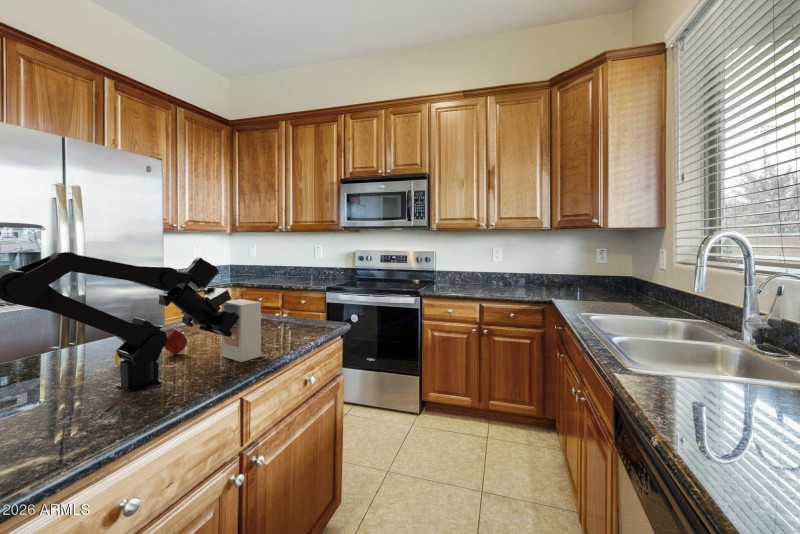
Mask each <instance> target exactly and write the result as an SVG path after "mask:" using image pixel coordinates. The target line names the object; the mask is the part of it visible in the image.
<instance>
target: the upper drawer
mask: <svg viewBox="0 0 800 534" xmlns="http://www.w3.org/2000/svg"><path fill="white" fill-rule="evenodd" d="M226 310H228V311H234V312H236V313H237V314H238V307H237V306H232V305H224V311H226ZM234 325H238V320H237V322H236V323H235V324H234Z"/></svg>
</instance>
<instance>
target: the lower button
mask: <svg viewBox="0 0 800 534" xmlns="http://www.w3.org/2000/svg"><path fill="white" fill-rule="evenodd" d="M230 332H231V336H230V337H227V336H225V343H229V344H232V345H236V346H239V341H238V327H234V326H233V327H232V328H231V329H230Z"/></svg>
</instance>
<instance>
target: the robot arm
mask: <svg viewBox="0 0 800 534" xmlns="http://www.w3.org/2000/svg"><path fill="white" fill-rule="evenodd" d="M71 272H72V273H77V274H84V275H85V274H86V275H91V276H98V277H103V278H111V279H116V280H122V281H129V282H132V283H134V284H136V285H138V286H139V285H140V286H143V287H145V288H148V289H153V290H158V291H163V292H165V293H163V294H159V295H158V297H159V300H158V305H160V306H164V307H169V305H170V304H172V305H174V306H175V307H176V308H177V309H179V310H180V312H181V314H182V315H183V316H182V317H181V318H182V319H181V322H182V323H183V324H184V325H186V326H187V327H191V328H192V327H193V326H194V324H195V325H199V327H198V328H199V330H201V331H205V332H207V333H208V332H209V333H212V334H216V335H220V336H222V335H223V336H227V337H230V336H231V332H230V329H231V328H232V327H233V325H234V324H235V323H236V322H237V320H238V319H239V315H238V314H237V313H236V312H234V311H228V310H226V311H223V312H222V311H220V310H222V307H220V306H222V304H224V303H225V302H227V301H231V300H232V298H233V297H232V296H231V294H230V292H229V289H227V288H224V287H218V288H217V287H216V288H213V287H210V286H209V285H210V284H211V282H212V281H213V280H214V279H215V278H216V277H217V276H218V274H219V273H220V270H219V269H218V268H217V267H216V265H214V264H212V263H210V262H208V261H206V260H204V259H203V258H202V257H195V258H194V259H193V260H192V262H191V264H190V265H188V267H187V268H185V269H184V270H183V271H181V270H177V269H175V268H173V267H169V266H160V265H138V264H137V265H135V264H127V263H123V262H118V261H113V260H106V259H101V258H96V257H91V256H86V255H80V254H77V253H74V252H71V251H60V250H59V251H55V252H53V253H51V254H50V255H48V256H45V257H44V258H41V259H38V260H36V261H33V262H30V263H28V264H25V265H22V266H20V267H18V268H16V269H3V270H0V301H3V302H6V303H9V304H13V305H19V306H22V307H23V306H24V307H28V308H33V309H39V310H43V311H48V312H52V313H54V314H57V315H60V316H62V317H65V318H66V319H67V318H68V319H71V320H72V321H75V322H78V323H80V324H83V325H85V326H89V327H91V328H94V329H97V330H100V331H102V332H105V333H107V334H110V335H113V336H114V337H116V338H117V339H119V340H120V341H121V342H122V344H121V345H120V346H119V347H118V348H117V349H116V352H117V354H118V356H119V359H123V360H122V361H121V360H120V366H119V368H120V369H119V371H120V372H119V373H120V382H119V383H117V384H116V387H117V388H120V389H122V390H126V391H128V392H132V393H133V392H137V391H139V390H143V389H146V388H149V387H152V386H154V385H158V384H161V383H162V380H161V379H159V377H160V375H159V374H160V371H159V369H160V367H159V365H160V364H159V362H158V360H159V359H160V356H161V352H162V350H163V349H165V345H166V342H167V336H168V334H167V333H166V331H164V330H162V329H163V326H161V325H157V324H155V323H154V324H153V323H151V322H149V321H148V320H146V319H142V318H141V317H140V318H139V317H135V316H134V317H133V318H132V321H127V320H124V319H122V318H119V317H118V316H114V315H112V314H110V313H107V312H104V311H103V310H100V309H98V308H95V307H93V306H91V305H88V304H85V303H83V302H81V301H79V300H77V299H73V298H71V297H69V296H66V295H65V294H64V295H63V294H62V293H60V292H59V291H58V290H56V289H54V287H52V286H51V284H53V283H54V282H56V281H57V280H59V279H61V278H62V277H64V276H65V275H67V274H69V273H71ZM200 289H203V295H201V294H200V293H198V291H196V290H200Z"/></svg>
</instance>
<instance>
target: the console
mask: <svg viewBox="0 0 800 534" xmlns="http://www.w3.org/2000/svg"><path fill="white" fill-rule="evenodd" d="M237 299H238V300H234V299H233V300H232V299H231V300H230V301H227V302H225V303H224V304H222V305H221V312H223V311H224V305H232V306H237V307H238V315H239V319H238V325H233V326H234V327H238V341H239V346H236V345H232V344H229V343H225V336H223V335H221V351H222V352H221V354H222V355H221V356H222V357H224V358H227V359H230V360H233V361H236V362H239V363H242V362H246V361H250V360H252V359H257V358H260V357H261V356H262V354H261V353H262V351H261V348H262V347H261V343H262V342H261V336H262V335H261V333H262V331H261V327H262V325H261V323H262V322H261V319H262V317H261V316H262V315H261V312H262V311H261V309H262V308H261V307H262V303H261V301H257V300H256V301H255V300H249V299H245V298H244V299H243V298H237Z"/></svg>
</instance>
